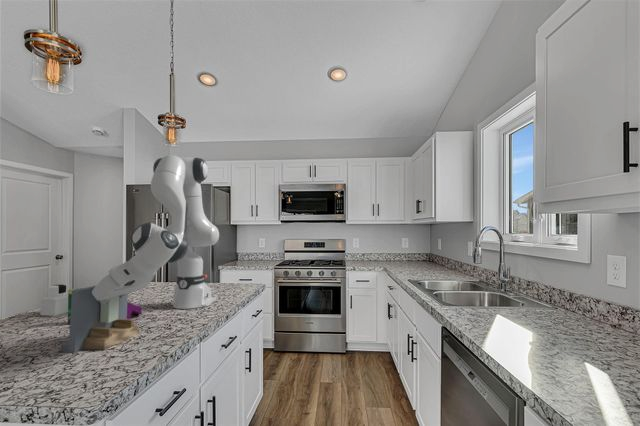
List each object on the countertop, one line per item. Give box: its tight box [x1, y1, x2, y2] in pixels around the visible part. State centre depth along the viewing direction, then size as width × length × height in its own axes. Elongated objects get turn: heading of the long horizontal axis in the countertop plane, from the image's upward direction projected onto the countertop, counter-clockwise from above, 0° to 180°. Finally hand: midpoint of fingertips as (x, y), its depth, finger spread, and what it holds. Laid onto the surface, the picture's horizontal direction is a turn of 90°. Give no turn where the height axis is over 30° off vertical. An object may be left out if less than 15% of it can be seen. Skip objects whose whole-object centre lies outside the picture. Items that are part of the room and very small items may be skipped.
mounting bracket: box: [127, 301, 143, 319], centre depth 121 cm, size 10×8×18 cm
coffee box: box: [67, 288, 82, 326], centre depth 118 cm, size 8×3×13 cm, turn 126°
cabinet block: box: [100, 296, 119, 323], centre depth 100 cm, size 4×3×10 cm
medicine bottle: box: [40, 284, 68, 317], centre depth 130 cm, size 7×7×12 cm
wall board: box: [59, 285, 129, 353], centre depth 101 cm, size 20×5×18 cm, turn 172°
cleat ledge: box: [84, 318, 139, 351], centre depth 100 cm, size 14×7×6 cm, turn 172°
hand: (109, 301), depth 100 cm, fingers closed on cabinet block, 4 cm apart
